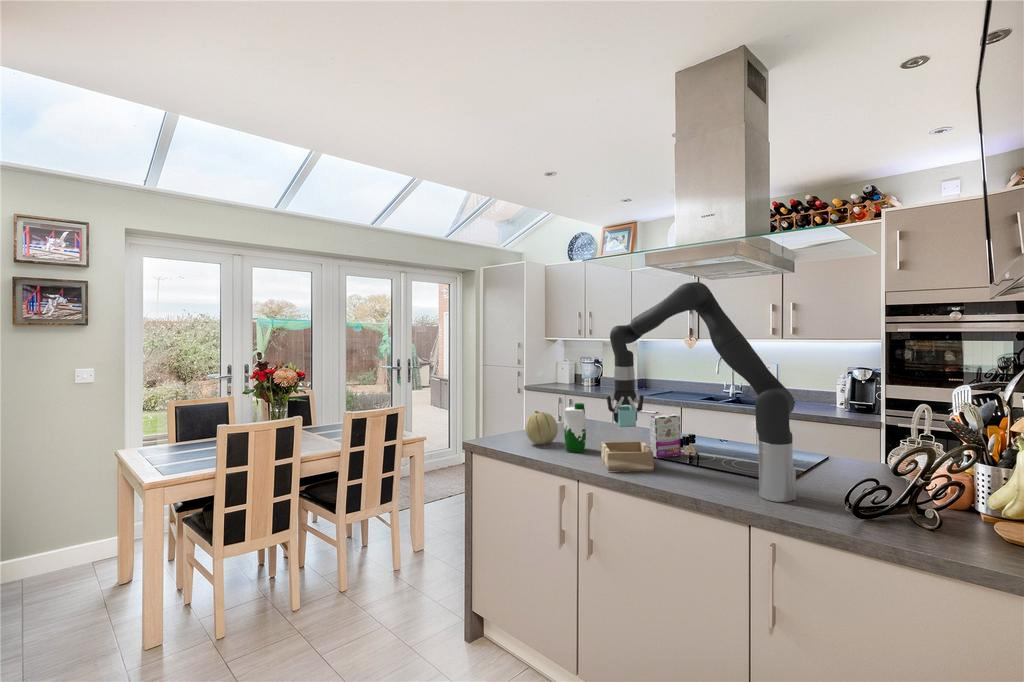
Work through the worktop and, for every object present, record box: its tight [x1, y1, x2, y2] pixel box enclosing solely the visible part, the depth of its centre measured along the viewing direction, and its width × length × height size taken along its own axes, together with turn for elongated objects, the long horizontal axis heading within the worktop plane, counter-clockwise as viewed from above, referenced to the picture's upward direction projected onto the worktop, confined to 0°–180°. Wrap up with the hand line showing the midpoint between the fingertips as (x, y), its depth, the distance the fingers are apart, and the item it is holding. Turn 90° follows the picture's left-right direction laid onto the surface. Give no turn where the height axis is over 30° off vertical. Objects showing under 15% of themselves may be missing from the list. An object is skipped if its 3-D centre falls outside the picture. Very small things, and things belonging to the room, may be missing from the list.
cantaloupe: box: [525, 410, 559, 445], centre depth 233 cm, size 15×15×15 cm
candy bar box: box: [649, 413, 682, 459], centre depth 207 cm, size 11×5×16 cm, turn 105°
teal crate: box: [616, 405, 637, 428], centre depth 195 cm, size 10×6×6 cm, turn 178°
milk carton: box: [563, 402, 587, 453], centre depth 220 cm, size 9×9×20 cm
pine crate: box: [600, 440, 655, 472], centre depth 196 cm, size 17×16×7 cm
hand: (625, 422), depth 196 cm, fingers closed on teal crate, 6 cm apart
